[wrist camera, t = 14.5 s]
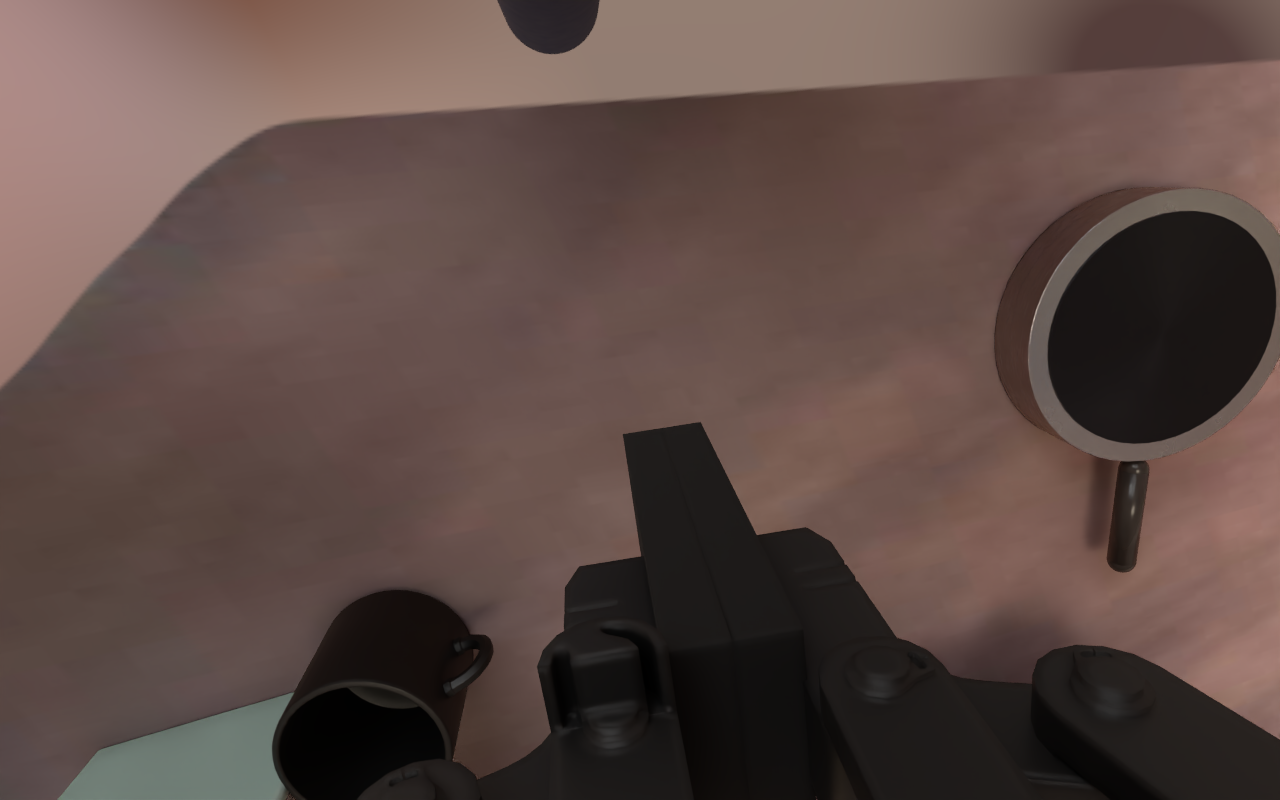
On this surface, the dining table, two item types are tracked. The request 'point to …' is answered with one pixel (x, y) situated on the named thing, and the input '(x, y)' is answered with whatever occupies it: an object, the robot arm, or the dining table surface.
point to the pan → (1141, 330)
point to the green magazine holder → (191, 761)
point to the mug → (377, 696)
